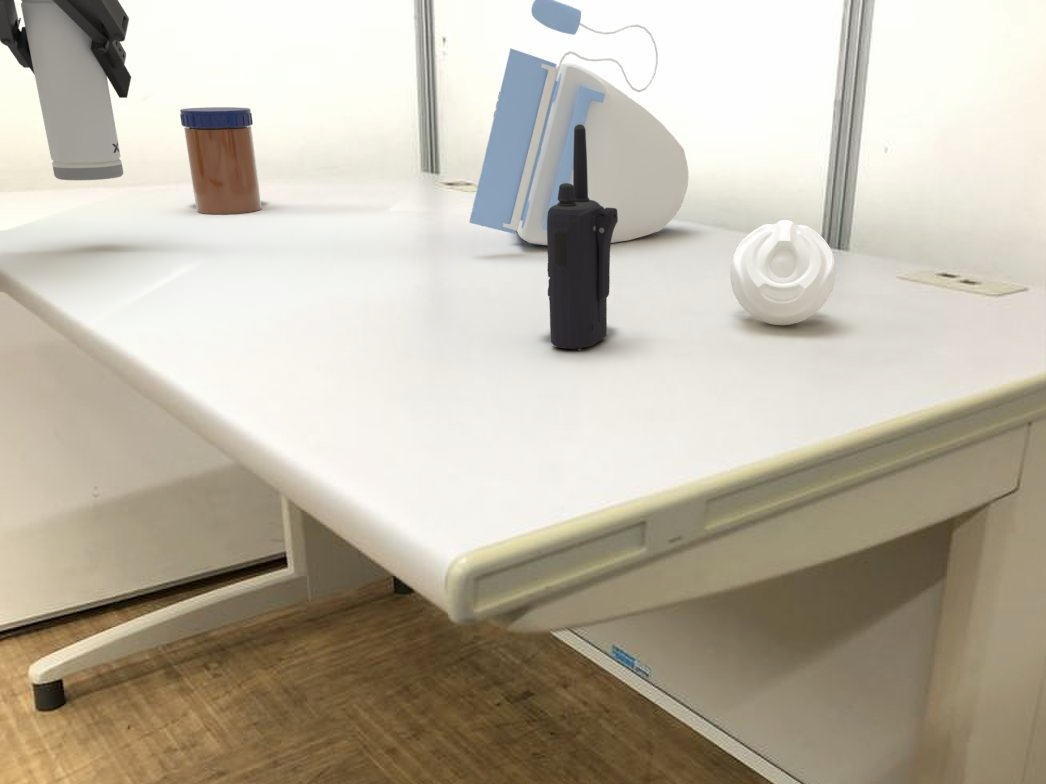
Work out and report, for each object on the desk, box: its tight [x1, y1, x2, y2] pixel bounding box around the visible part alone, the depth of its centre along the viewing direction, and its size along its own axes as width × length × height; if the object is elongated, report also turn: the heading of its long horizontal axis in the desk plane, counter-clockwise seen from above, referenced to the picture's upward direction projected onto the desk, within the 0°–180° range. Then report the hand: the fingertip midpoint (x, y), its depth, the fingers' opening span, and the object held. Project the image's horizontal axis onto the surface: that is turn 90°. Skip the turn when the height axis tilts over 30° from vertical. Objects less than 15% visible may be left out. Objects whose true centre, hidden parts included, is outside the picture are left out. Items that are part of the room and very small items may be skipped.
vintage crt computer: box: [468, 0, 689, 246], centre depth 115 cm, size 25×23×17 cm
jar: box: [183, 125, 262, 215], centre depth 132 cm, size 8×8×12 cm
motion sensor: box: [729, 219, 837, 326], centre depth 81 cm, size 8×8×8 cm
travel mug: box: [20, 0, 124, 181], centre depth 103 cm, size 6×7×20 cm
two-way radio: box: [546, 124, 618, 351], centre depth 74 cm, size 6×4×15 cm
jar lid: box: [179, 106, 254, 128], centre depth 130 cm, size 8×8×2 cm
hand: (90, 86), depth 107 cm, fingers closed on travel mug, 6 cm apart
